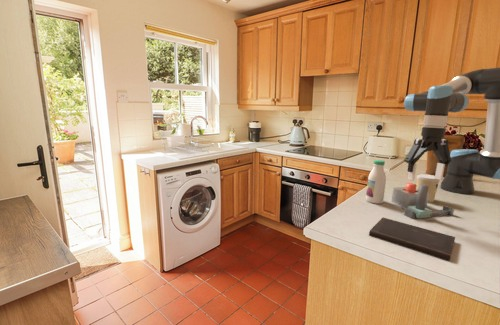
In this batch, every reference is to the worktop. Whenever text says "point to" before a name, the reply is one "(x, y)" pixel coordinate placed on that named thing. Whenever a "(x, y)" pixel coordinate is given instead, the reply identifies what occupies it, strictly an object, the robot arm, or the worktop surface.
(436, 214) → the rail
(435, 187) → the coffee cup
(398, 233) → the hardcover book
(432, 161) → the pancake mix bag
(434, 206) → the worktop surface
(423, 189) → the carriage
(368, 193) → the milk bottle
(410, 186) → the button
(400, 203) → the grey block with hole
